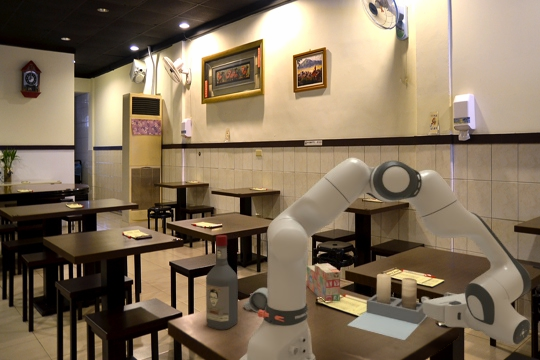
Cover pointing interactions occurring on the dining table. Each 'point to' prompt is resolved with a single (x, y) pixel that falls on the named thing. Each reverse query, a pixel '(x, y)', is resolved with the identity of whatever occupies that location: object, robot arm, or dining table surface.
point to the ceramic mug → (257, 300)
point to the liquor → (221, 290)
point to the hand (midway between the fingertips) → (434, 297)
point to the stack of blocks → (324, 281)
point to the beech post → (409, 293)
